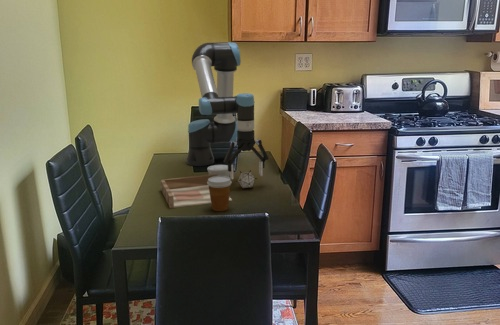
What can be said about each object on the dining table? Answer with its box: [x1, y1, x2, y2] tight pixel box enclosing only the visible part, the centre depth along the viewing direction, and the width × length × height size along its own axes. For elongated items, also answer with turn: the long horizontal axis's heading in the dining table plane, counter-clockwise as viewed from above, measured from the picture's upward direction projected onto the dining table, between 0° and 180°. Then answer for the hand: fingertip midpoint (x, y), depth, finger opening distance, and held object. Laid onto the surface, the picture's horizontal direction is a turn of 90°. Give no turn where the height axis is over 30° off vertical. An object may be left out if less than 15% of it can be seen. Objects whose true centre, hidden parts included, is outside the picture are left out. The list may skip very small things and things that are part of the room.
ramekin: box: [206, 164, 230, 178], centre depth 219 cm, size 11×11×5 cm
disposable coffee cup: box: [207, 176, 233, 212], centre depth 177 cm, size 10×10×12 cm
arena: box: [160, 174, 233, 209], centre depth 193 cm, size 24×26×5 cm
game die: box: [235, 169, 258, 190], centre depth 202 cm, size 9×8×10 cm
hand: (246, 176), depth 202 cm, fingers open, 13 cm apart
